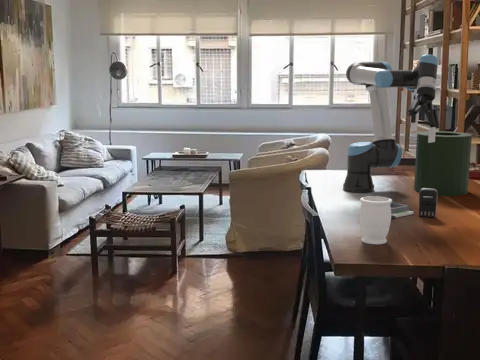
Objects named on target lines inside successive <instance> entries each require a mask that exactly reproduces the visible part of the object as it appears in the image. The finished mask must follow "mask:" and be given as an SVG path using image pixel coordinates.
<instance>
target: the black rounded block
mask: <svg viewBox="0 0 480 360" xmlns="http://www.w3.org/2000/svg"><path fill="white" fill-rule="evenodd" d="M418 193H419V192H418ZM437 204H438V196H437V190H436V189H430V188H422V189H421V190H420V193H419V195H418V216H419V217H422V218H424V217H425V218H436V217H437Z"/></svg>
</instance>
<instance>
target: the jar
mask: <svg viewBox="0 0 480 360" xmlns="http://www.w3.org/2000/svg"><path fill="white" fill-rule="evenodd" d="M359 202H360V207H359V213H358V215H359V217H358V218H359V226H360V227H359V228H360V232H361V235H362V237H361V242H363V243H364V244H367V245H374V246H375V245H377V246H378V245H385V244H386V243H387V242H388V241H387V236H388V234H389V230H390V225H391V222H392V219H391V207H390V204H391V203H392V202H393V199H392V198H389V197H387V196H378V195H376V196H374V195H373V196H372V195H371V196H370V195H369V196H363V197H360V199H359Z"/></svg>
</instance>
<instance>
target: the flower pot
mask: <svg viewBox="0 0 480 360" xmlns="http://www.w3.org/2000/svg"><path fill="white" fill-rule="evenodd" d="M472 136H473V134H472V133H467V132H459V131H441V130H440V131H439V130H438V131H437V130H436V134H435V142H432V143H428V137H429V131H420V132H417V133H416V143H415V145H416V149H415V162H414V163H415V167H414V182H413V184H414V185H413V191H415V192H417V193H420V190H421V189H422V188H430V189H436V190H437V197H438V196H440V197H441V196H442V197H458V196H459V197H461V196H465V195H467V194H468V193H469V179H470V165H471V154H472V153H471V151H472Z"/></svg>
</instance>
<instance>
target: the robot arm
mask: <svg viewBox="0 0 480 360" xmlns="http://www.w3.org/2000/svg"><path fill="white" fill-rule="evenodd" d="M437 57H438V56H436V55H434V54H429V53H427V54H423V55H421V56H420V57H419V61H418V65H417V66H416V67H415V68H414V69H393V68H392V66H391V64H389V63H388V62H386V61H356V62H354V63H351V64H350V65H349V66H348V67H347V68H346V73H345V75H346V79H347V81H348V82H349V83H351V84H352V85H357V86H365V91H367V92H368V93H369V102H370V109H371V110H370V111H371V119H372V127H373V128H372V129H373V137H374V139H373V140H372V141H359V142H354V143H350V144H349V145H348V148H347V161H346V162H347V163H346V164H347V165H346V166H347V170H346V176H345V179H344V183H343V184H342V190H343V189H344V191H345V190H346V191H345V192H349V191H350V192H351V193H360V194H361V193H372V192H374V191H375V185H374V181H373V177H372V169H390V168H395V167H397V166H398V165H399V164H400V163H401V160H402V157H403V149H402V147H401V145H400V144H399V143H397V141H396V138H395V137H393V133H392V123H391V115H390V114H391V113H390V107H389V98H388V90H389V88H405V89H406V90H408V91H410V92H411V91H416V94H414V95H413V99H412V101H411V103H410V105H409V108H408V109H407V113H408V116H409V117H410V129H409V131H410V132H415V131H418V124H419V123H418V122H419V115H418V113H420V112H421V111H423V112H424V114H425V115H426V118H427V121H428V124H429V127H428V132H429V137H428V143H432V142H435V134H436V131H437V129H440V123H439V117H438V113H437V112H438V111H437V105H436V104H435V105H433V101H434V100H435V99H436V92H437V91H436V89H437V88H436V87H437V76H438V67H439V65H438V58H437Z"/></svg>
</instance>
